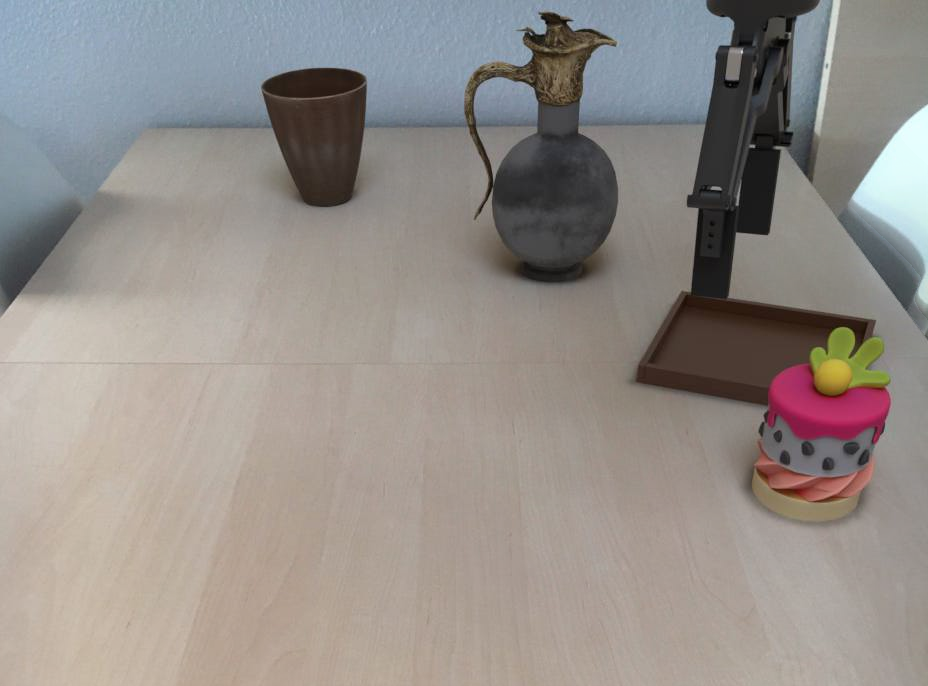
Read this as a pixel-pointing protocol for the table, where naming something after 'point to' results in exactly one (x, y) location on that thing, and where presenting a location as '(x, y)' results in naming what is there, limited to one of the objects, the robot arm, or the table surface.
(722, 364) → the tray
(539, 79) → the pitcher
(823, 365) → the cake
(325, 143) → the flower pot
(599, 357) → the table surface
